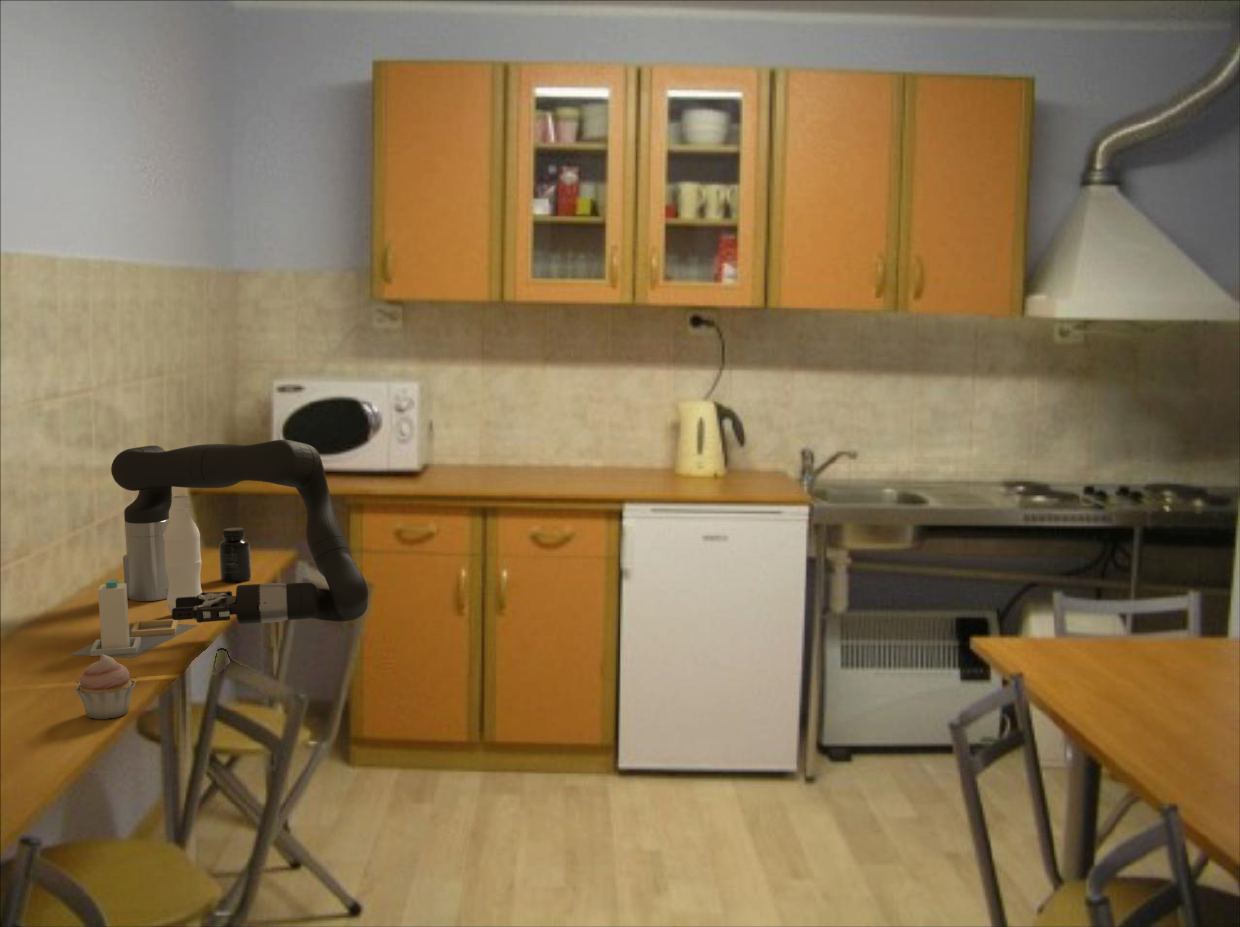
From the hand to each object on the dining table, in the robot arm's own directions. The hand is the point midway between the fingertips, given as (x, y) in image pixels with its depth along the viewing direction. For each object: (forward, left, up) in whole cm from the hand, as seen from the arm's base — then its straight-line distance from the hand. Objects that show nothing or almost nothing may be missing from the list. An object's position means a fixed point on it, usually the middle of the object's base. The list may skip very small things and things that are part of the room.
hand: (174, 608), depth 262 cm
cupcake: (+9, -39, -8) cm, 40 cm away
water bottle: (-11, +23, -8) cm, 27 cm away
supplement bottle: (-16, +56, -8) cm, 59 cm away
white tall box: (-10, -5, -7) cm, 13 cm away
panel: (-10, +2, -8) cm, 13 cm away
